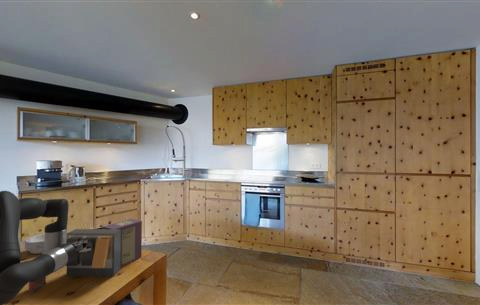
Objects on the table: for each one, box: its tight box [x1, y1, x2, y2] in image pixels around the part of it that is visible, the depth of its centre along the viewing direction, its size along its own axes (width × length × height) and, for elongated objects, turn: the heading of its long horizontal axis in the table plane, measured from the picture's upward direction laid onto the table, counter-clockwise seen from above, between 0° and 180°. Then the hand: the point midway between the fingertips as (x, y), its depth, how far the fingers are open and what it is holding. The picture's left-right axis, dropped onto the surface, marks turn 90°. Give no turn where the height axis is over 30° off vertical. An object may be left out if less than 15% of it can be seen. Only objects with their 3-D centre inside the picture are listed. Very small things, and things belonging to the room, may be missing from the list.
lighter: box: [27, 276, 47, 295], centre depth 101 cm, size 8×3×10 cm, turn 5°
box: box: [102, 218, 143, 268], centre depth 127 cm, size 17×9×20 cm, turn 153°
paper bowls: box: [24, 233, 45, 255], centre depth 140 cm, size 15×15×8 cm
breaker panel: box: [65, 228, 121, 277], centre depth 113 cm, size 22×8×20 cm, turn 90°
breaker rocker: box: [91, 239, 110, 268], centre depth 108 cm, size 5×3×12 cm, turn 90°
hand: (91, 240), depth 101 cm, fingers closed
